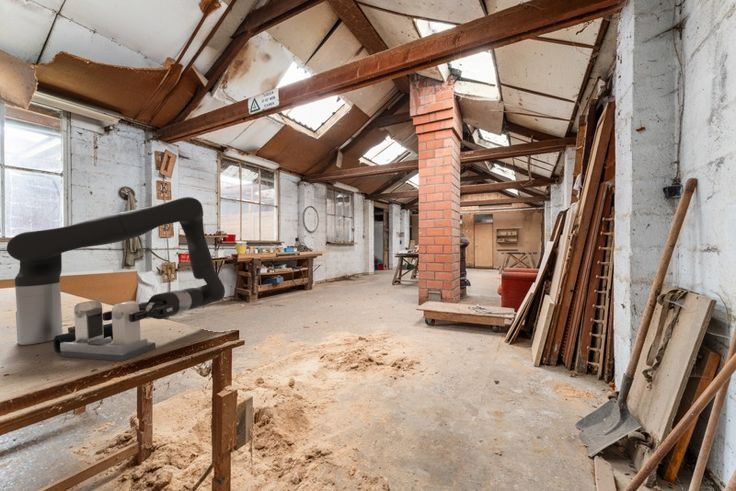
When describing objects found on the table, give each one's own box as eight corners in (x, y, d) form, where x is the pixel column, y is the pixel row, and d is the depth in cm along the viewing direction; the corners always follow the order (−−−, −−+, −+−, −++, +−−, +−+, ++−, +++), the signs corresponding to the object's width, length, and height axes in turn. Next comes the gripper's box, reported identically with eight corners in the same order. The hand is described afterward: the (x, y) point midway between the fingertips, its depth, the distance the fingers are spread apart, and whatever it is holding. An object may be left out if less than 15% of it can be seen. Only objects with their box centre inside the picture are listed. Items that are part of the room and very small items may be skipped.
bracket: (60, 356, 78) (58, 305, 78) (98, 344, 87) (96, 298, 86) (122, 361, 74) (119, 306, 73) (155, 347, 83) (153, 299, 82)
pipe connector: (42, 330, 84) (106, 317, 98) (42, 349, 85) (106, 333, 98) (62, 336, 80) (126, 321, 93) (62, 356, 80) (127, 338, 94)
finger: (112, 349, 78) (110, 303, 77) (128, 344, 82) (126, 300, 81) (125, 350, 77) (123, 304, 76) (140, 345, 81) (138, 301, 80)
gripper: (151, 291, 94) (94, 302, 78) (189, 291, 91) (138, 303, 75) (152, 315, 94) (95, 330, 79) (190, 316, 91) (140, 333, 76)
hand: (116, 317), depth 77 cm, fingers open, 8 cm apart
